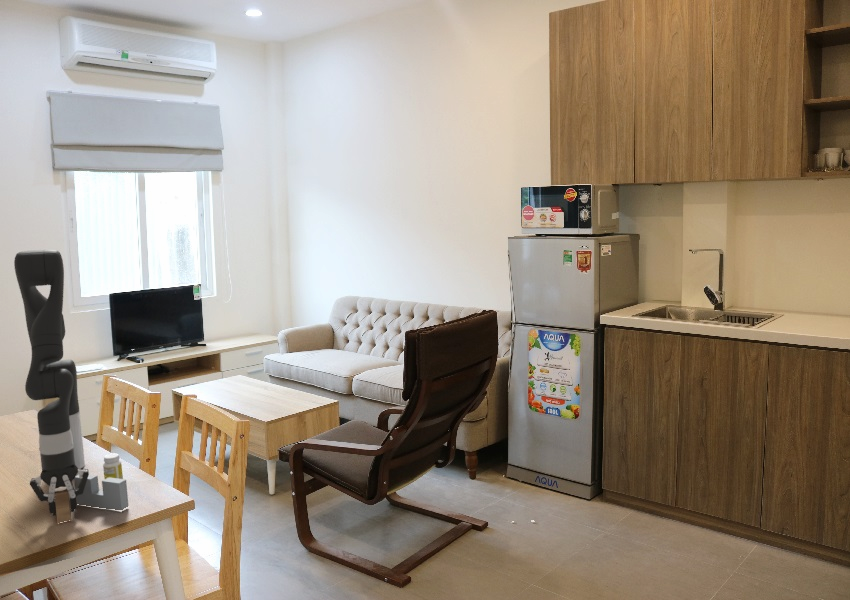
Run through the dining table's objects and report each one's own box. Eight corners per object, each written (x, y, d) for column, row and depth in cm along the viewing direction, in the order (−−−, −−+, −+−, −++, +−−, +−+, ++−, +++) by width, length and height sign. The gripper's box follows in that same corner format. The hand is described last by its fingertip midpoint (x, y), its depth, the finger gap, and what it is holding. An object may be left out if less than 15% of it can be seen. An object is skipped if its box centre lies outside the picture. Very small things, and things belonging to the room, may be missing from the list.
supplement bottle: (118, 479, 209) (115, 451, 208) (126, 482, 206) (123, 454, 205) (101, 484, 205) (99, 456, 204) (110, 488, 202) (107, 460, 201)
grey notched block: (76, 505, 192) (73, 476, 190) (83, 501, 194) (81, 473, 193) (121, 512, 187) (119, 483, 185) (128, 508, 189) (126, 479, 188)
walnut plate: (59, 500, 195) (56, 472, 194) (71, 498, 197) (68, 470, 195) (57, 524, 181) (54, 494, 180) (70, 521, 182) (67, 491, 181)
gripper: (87, 438, 187) (93, 501, 189) (25, 448, 181) (33, 512, 183) (87, 447, 180) (94, 512, 183) (23, 457, 174) (31, 524, 177)
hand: (63, 512), depth 183 cm, fingers open, 3 cm apart
